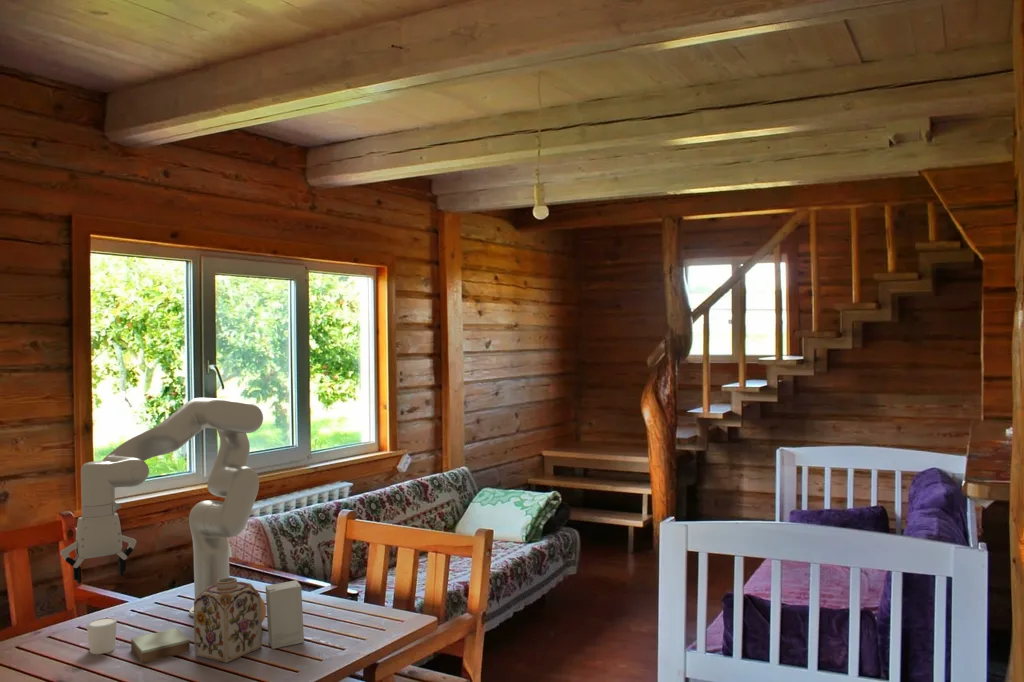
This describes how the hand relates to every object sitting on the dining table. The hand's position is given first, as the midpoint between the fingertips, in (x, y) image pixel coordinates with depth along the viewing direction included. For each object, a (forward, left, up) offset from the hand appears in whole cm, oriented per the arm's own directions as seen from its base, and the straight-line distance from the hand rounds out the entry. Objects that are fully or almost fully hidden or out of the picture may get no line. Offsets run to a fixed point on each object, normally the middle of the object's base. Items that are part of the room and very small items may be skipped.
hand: (100, 578), depth 206 cm
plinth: (-11, +11, -18) cm, 24 cm away
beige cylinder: (0, 0, -18) cm, 18 cm away
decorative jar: (-24, +23, -18) cm, 38 cm away
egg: (-35, +10, -18) cm, 41 cm away
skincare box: (-37, +27, -18) cm, 49 cm away
